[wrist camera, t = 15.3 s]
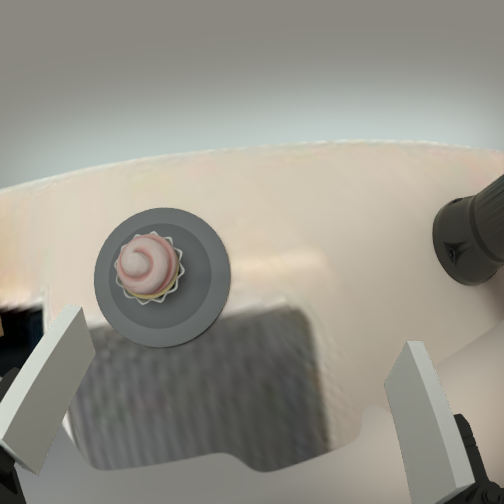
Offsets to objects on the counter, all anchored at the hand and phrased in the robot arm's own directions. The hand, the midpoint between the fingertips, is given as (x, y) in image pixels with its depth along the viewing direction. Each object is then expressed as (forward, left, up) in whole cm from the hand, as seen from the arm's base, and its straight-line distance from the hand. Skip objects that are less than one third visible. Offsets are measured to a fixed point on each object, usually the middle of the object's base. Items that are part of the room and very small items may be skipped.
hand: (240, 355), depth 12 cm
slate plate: (+14, -5, -32) cm, 35 cm away
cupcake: (+14, -5, -31) cm, 34 cm away
